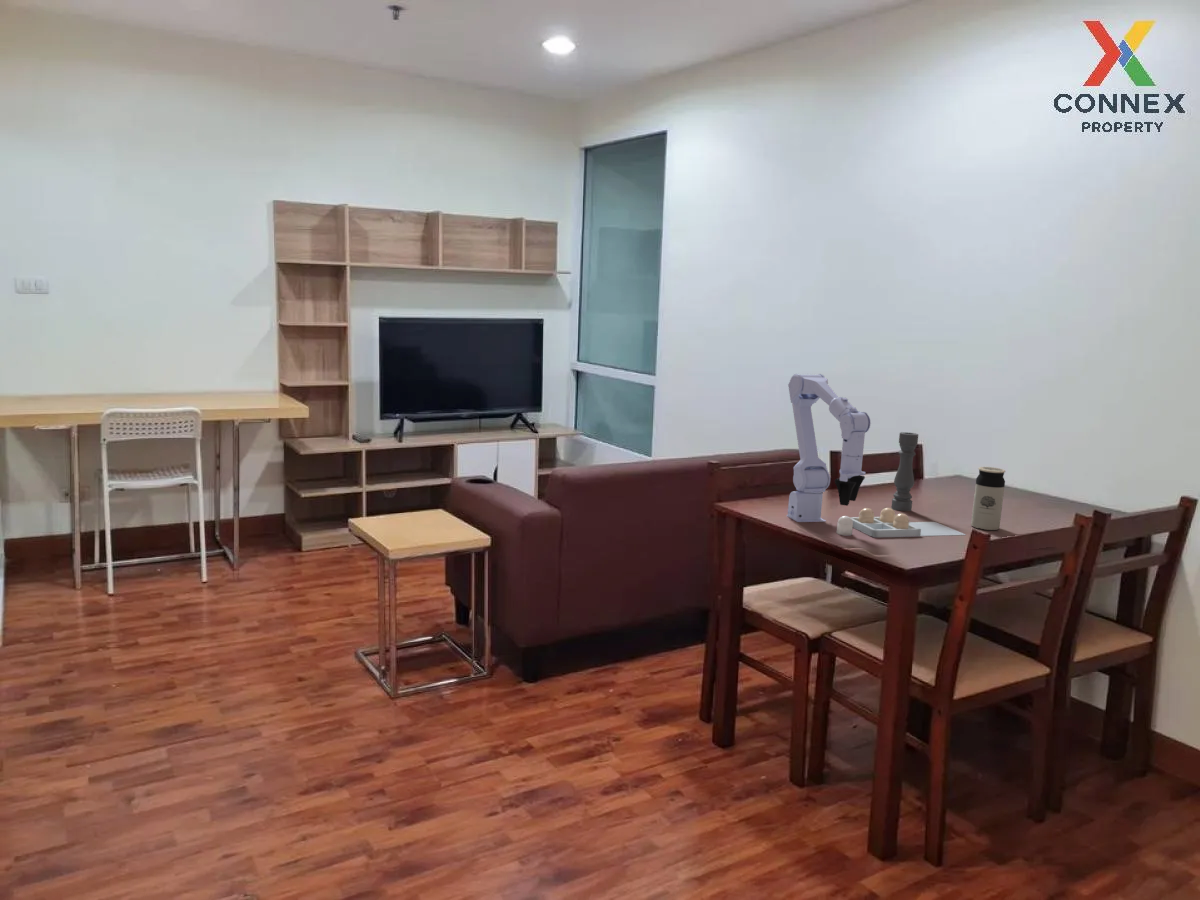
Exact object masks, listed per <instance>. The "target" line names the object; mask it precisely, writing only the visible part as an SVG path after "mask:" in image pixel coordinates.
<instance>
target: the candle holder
mask: <svg viewBox="0 0 1200 900" xmlns="http://www.w3.org/2000/svg"><path fill="white" fill-rule="evenodd" d="M898 435H899V437H898V445H899V448H900V450H899V451H898V455H899V465H898V468H897V471H896V475H895V476H894V479H893V483H894V486H895V490H896V491H895V492H894V493H893V495H892V496H893V498H892V499H891V507H890V508H891V509H893V510H894V511H901V512H911V511H912V510H913V509H912V507H913V500H912V498H913V495H912V494H911V492H910V491H912V490H911V489H912V488H913V487H914V485H915V478H914V470H913V460H914V457H915V456H916V455H917V454H916V452H915V449H916V448H917V445H918V443H919V442H918V441H919V434H918V433H916V432H903V431H901V432H899V434H898Z"/></svg>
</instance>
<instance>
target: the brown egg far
mask: <svg viewBox="0 0 1200 900" xmlns="http://www.w3.org/2000/svg"><path fill="white" fill-rule="evenodd" d="M895 516H896V511H895V510H893V509H891V507H885V508H883V509H881V511H880V515H879V517H880V521H881V522H883V523H893V521H894V517H895Z"/></svg>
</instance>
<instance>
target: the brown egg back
mask: <svg viewBox="0 0 1200 900" xmlns="http://www.w3.org/2000/svg"><path fill="white" fill-rule="evenodd" d="M909 522H910V519H909V517H908V515H907V514H905V513H902V512H900V513H896V514H895V517H894V521H893V527H894V528H896V529H908V526H909Z"/></svg>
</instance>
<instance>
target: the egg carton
mask: <svg viewBox="0 0 1200 900" xmlns="http://www.w3.org/2000/svg"><path fill="white" fill-rule="evenodd" d="M849 517H850V516H849ZM850 518H851V519H852V521H853V529H855V530H857V531H860V532H862V533H864V534H865V535H867V536H870V537H872V538H904V537H905V538H907V537H908V538H909V537H911V538H912V537H915V538H916V537H945V536H946V537H947V536H949V537H950V536H951V537H952V536H966V535H967V534H965V533H963V532H962V531H961V532H960V531H958V530H956V529H954V528H951V527H949V526H946V525H944V524H941V523H940V522H936V521H915V522H913V521H909V526H908V529H896V528H894V527H893V523H883V522H881V521H880V516H874V522H873V523H861V522H859V516H852V517H850Z"/></svg>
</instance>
